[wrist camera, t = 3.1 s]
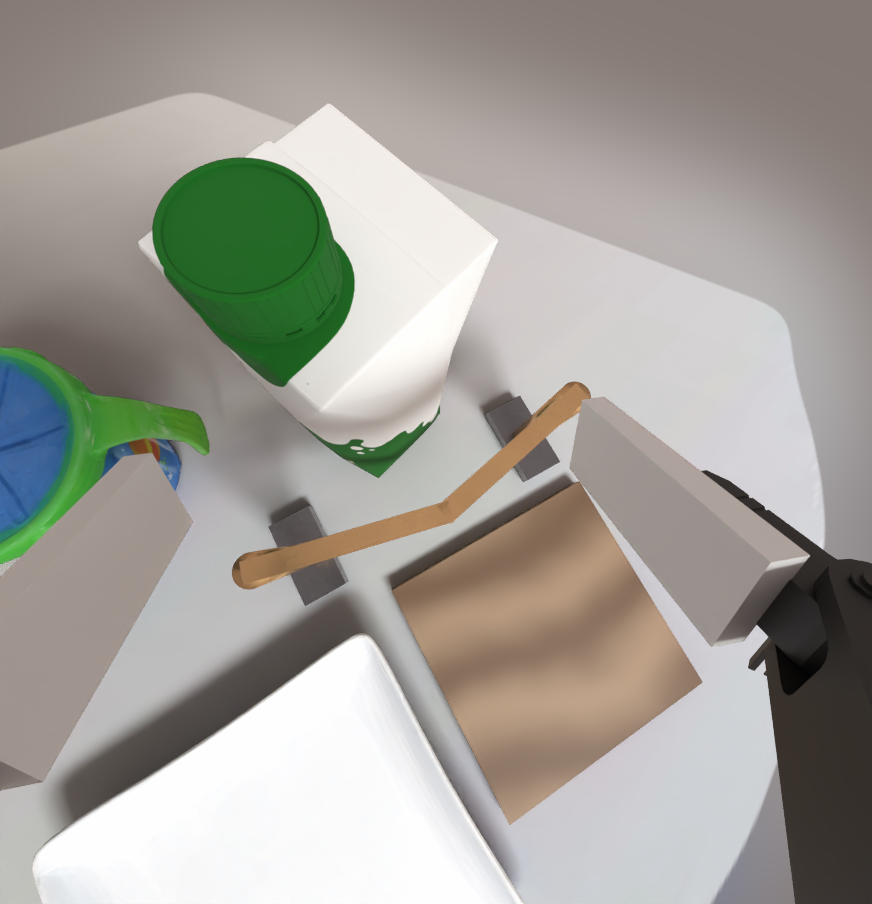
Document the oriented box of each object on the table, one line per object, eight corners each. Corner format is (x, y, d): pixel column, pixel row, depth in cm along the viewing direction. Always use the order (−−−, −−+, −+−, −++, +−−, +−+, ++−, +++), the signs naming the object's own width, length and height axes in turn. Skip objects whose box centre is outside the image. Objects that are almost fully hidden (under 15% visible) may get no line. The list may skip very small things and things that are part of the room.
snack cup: (10, 578, 24) (-265, 614, 14) (12, 429, 26) (-231, 371, 16) (249, 529, 26) (150, 531, 16) (234, 393, 28) (137, 320, 18)
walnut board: (392, 588, 26) (391, 590, 25) (573, 482, 28) (579, 481, 27) (505, 812, 24) (509, 825, 23) (691, 676, 26) (702, 682, 25)
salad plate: (232, 1191, 20) (194, 1330, 16) (73, 813, 22) (13, 864, 19) (541, 907, 23) (563, 973, 20) (370, 612, 26) (365, 624, 22)
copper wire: (273, 526, 26) (185, 527, 16) (516, 400, 29) (572, 332, 19) (309, 603, 25) (240, 655, 15) (554, 463, 29) (635, 429, 18)
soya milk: (296, 419, 28) (28, 170, 8) (377, 342, 30) (314, -14, 10) (379, 495, 27) (299, 419, 8) (457, 411, 29) (556, 173, 9)
